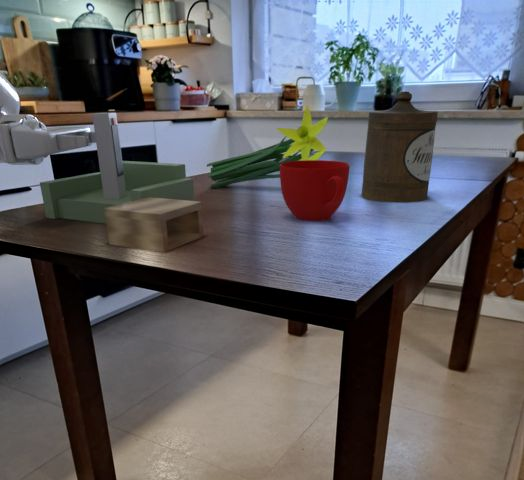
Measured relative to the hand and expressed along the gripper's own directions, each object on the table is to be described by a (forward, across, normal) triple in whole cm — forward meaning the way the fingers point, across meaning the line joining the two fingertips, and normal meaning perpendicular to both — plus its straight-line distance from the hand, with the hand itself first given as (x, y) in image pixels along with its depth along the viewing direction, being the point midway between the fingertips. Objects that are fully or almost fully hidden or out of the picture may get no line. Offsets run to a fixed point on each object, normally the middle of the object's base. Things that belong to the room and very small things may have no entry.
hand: (96, 139), depth 96 cm
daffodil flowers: (+29, -32, -15) cm, 46 cm away
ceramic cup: (+42, +1, -15) cm, 44 cm away
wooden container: (+60, -24, -15) cm, 66 cm away
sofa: (+2, -1, -14) cm, 15 cm away
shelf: (+15, +18, -15) cm, 28 cm away
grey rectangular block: (+2, 0, -11) cm, 11 cm away
